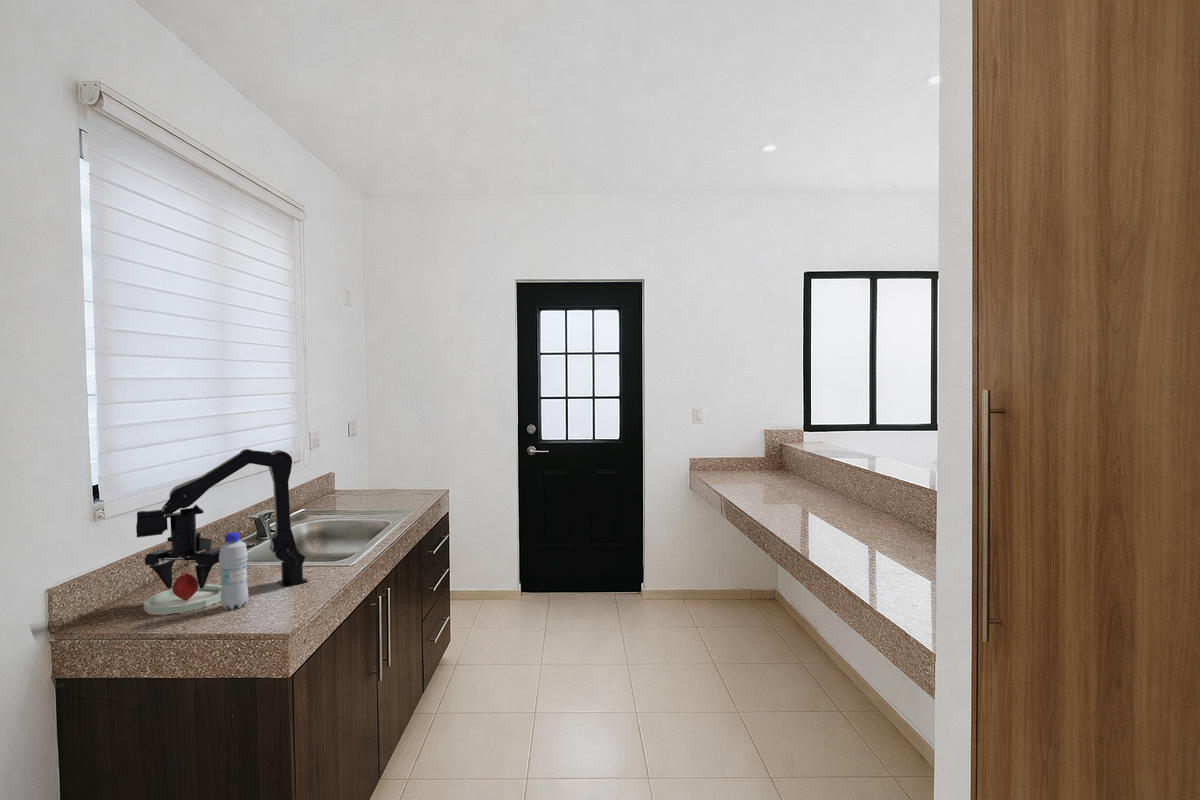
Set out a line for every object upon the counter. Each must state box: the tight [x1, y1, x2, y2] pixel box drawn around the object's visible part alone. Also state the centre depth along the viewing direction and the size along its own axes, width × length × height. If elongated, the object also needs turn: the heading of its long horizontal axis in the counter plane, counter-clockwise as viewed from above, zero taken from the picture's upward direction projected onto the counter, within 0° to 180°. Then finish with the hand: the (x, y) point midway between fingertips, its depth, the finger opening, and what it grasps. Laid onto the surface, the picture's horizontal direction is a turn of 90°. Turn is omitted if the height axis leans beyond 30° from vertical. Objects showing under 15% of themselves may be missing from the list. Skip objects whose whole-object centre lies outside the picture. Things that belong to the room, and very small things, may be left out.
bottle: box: [218, 531, 249, 610], centre depth 163 cm, size 7×7×20 cm
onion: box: [171, 571, 199, 600], centre depth 167 cm, size 6×6×8 cm
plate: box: [143, 583, 222, 614], centre depth 167 cm, size 18×18×2 cm
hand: (185, 588), depth 167 cm, fingers open, 9 cm apart
